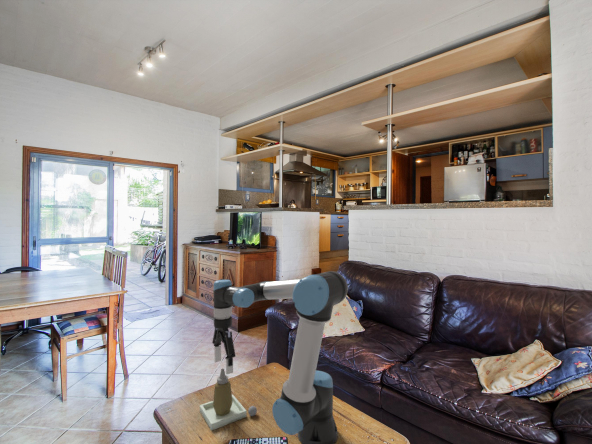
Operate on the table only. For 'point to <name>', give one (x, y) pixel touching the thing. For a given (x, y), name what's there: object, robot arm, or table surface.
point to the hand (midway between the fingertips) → (223, 367)
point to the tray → (219, 421)
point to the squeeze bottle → (222, 395)
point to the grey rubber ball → (252, 411)
